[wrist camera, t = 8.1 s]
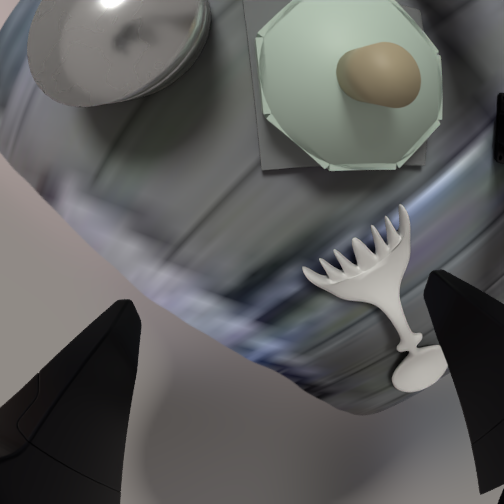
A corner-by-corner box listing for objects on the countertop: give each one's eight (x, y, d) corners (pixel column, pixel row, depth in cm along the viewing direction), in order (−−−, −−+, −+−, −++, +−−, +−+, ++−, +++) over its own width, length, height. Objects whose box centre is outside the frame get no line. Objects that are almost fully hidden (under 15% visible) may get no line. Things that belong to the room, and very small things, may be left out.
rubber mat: (415, 11, 11) (420, 9, 11) (420, 163, 18) (424, 165, 17) (242, -5, 12) (241, -8, 11) (261, 167, 18) (261, 170, 18)
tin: (205, -46, 9) (192, -80, 5) (220, 82, 15) (209, 79, 11) (68, 0, 10) (27, -11, 6) (79, 117, 15) (37, 132, 11)
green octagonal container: (417, 12, 11) (467, 1, 6) (422, 161, 17) (469, 190, 12) (248, -5, 11) (249, -41, 7) (266, 165, 17) (274, 197, 13)
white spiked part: (388, 186, 19) (410, 205, 16) (448, 358, 33) (456, 375, 30) (291, 250, 22) (298, 277, 19) (398, 387, 36) (404, 405, 33)
